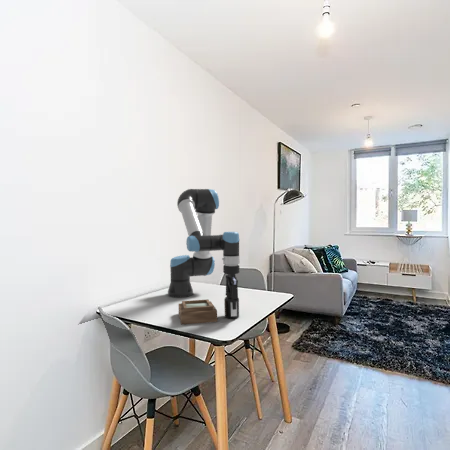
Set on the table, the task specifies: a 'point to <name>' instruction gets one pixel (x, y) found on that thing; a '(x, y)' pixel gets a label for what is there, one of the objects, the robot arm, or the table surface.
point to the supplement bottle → (228, 306)
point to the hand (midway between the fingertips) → (231, 313)
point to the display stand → (197, 312)
